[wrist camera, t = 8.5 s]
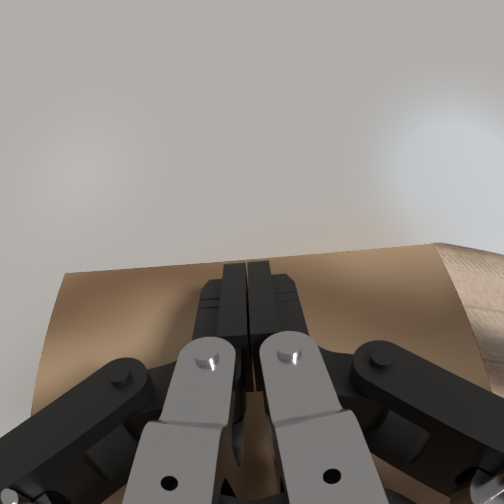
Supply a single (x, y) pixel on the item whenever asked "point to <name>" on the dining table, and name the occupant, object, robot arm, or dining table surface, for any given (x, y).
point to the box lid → (256, 434)
